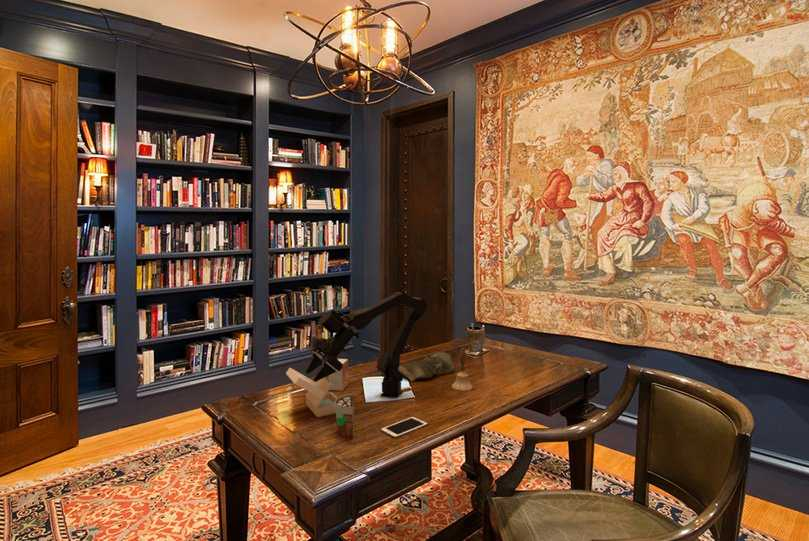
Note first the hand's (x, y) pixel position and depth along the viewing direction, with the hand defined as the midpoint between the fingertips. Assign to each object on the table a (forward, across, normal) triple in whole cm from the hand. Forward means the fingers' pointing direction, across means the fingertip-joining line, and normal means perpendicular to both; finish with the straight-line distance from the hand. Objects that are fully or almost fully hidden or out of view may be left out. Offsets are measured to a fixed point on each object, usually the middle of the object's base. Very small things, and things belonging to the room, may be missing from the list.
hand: (310, 377), depth 159 cm
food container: (+6, +20, +12) cm, 24 cm away
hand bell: (-32, +7, +51) cm, 61 cm away
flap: (+2, 0, +6) cm, 6 cm away
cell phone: (-6, +28, +25) cm, 37 cm away
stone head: (-30, -17, +49) cm, 60 cm away
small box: (-3, -18, +21) cm, 27 cm away
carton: (+5, 0, +12) cm, 13 cm away
